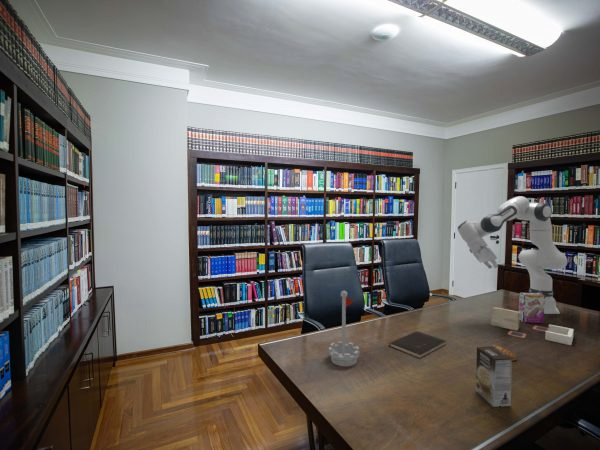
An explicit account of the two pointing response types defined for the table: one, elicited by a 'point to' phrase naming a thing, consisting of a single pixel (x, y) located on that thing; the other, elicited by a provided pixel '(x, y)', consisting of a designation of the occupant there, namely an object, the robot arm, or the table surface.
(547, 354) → the table surface
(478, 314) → the table surface
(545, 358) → the table surface
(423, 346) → the hardcover book
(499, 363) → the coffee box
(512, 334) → the plate
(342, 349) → the flag stand
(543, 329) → the plate
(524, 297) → the candy bar box
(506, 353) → the pastry
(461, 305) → the table surface
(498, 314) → the maple block
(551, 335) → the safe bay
